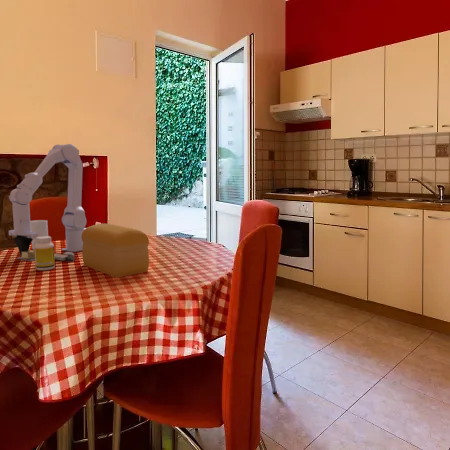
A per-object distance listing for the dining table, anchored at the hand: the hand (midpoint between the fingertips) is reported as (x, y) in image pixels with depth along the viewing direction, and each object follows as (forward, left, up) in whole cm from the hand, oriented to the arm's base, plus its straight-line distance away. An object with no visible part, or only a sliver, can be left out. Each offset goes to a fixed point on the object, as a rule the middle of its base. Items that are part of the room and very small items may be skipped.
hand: (24, 255), depth 152 cm
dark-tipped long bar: (-7, +11, -1) cm, 13 cm away
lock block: (0, +3, -1) cm, 3 cm away
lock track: (0, +3, -1) cm, 3 cm away
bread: (-7, +40, -2) cm, 41 cm away
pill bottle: (+6, +20, -1) cm, 21 cm away
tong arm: (-5, +11, -1) cm, 12 cm away
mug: (-16, -11, -1) cm, 19 cm away
